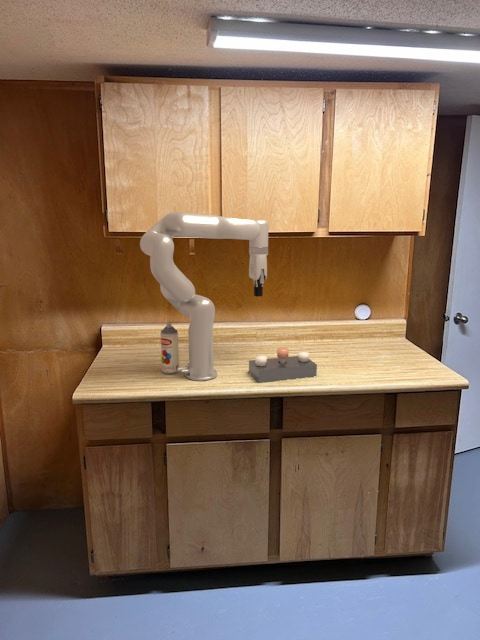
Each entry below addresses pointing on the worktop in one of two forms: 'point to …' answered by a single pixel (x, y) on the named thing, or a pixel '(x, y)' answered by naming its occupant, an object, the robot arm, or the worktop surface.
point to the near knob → (261, 360)
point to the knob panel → (282, 369)
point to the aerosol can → (169, 350)
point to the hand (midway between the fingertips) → (258, 295)
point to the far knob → (303, 356)
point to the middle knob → (282, 354)
